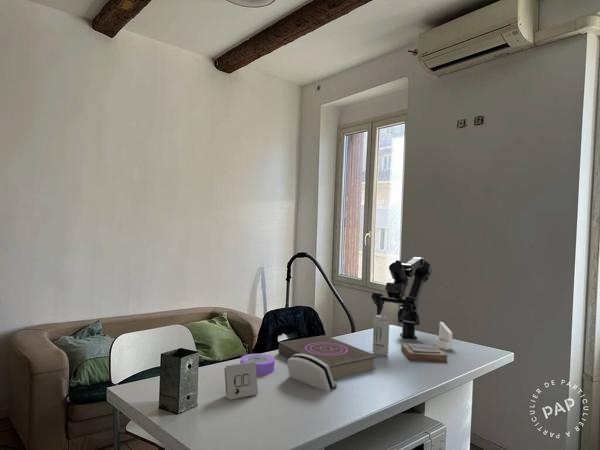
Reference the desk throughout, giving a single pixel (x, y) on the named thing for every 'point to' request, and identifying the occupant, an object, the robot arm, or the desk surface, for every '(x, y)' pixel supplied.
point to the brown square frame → (423, 352)
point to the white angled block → (444, 337)
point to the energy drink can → (381, 335)
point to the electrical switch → (241, 380)
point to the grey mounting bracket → (311, 371)
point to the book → (331, 354)
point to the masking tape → (260, 362)
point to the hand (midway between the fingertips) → (388, 317)
